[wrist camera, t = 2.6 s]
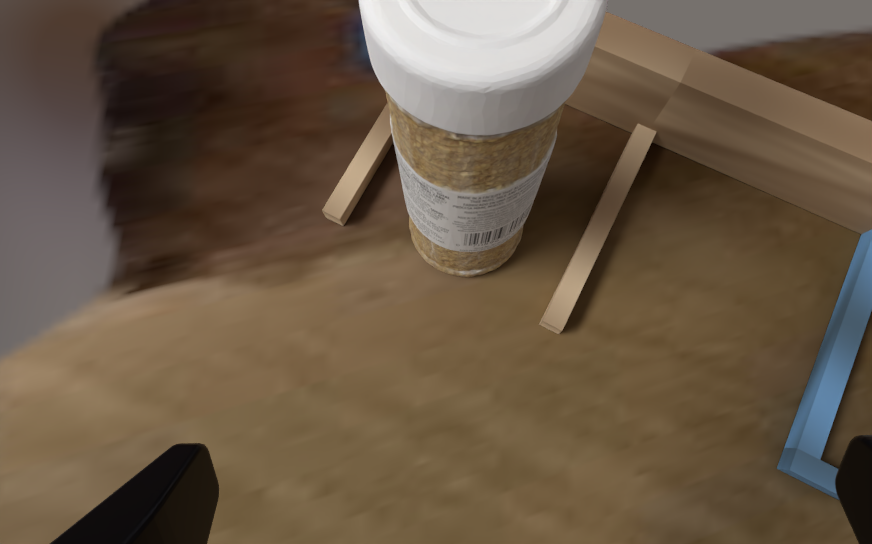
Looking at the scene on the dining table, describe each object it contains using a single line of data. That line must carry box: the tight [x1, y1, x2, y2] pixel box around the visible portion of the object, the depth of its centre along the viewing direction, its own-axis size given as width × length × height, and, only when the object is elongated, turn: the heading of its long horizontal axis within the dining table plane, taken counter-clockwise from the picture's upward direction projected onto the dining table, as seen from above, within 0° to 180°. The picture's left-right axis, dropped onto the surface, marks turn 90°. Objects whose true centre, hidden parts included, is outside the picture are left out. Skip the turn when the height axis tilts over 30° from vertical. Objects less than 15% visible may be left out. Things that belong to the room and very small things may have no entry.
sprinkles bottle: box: [359, 0, 608, 277], centre depth 17 cm, size 5×5×14 cm
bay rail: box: [322, 12, 872, 500], centre depth 20 cm, size 11×29×4 cm, turn 62°
